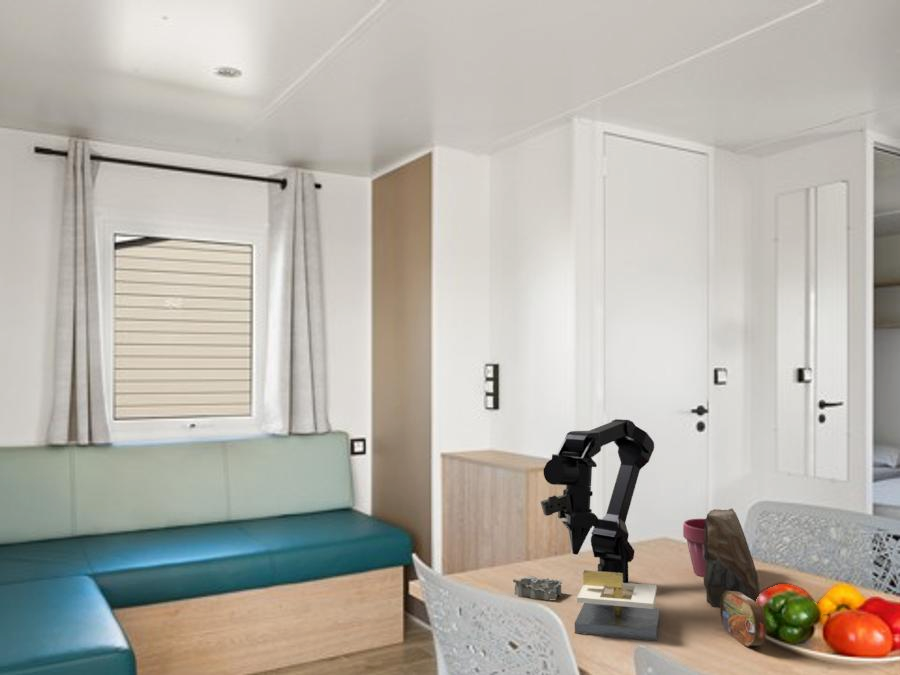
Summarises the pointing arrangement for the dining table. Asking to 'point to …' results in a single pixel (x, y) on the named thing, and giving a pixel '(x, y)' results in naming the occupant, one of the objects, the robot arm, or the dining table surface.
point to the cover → (640, 599)
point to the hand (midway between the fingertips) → (575, 554)
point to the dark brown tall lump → (727, 558)
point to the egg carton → (538, 587)
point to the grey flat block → (618, 622)
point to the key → (607, 585)
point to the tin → (743, 618)
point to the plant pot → (696, 543)
